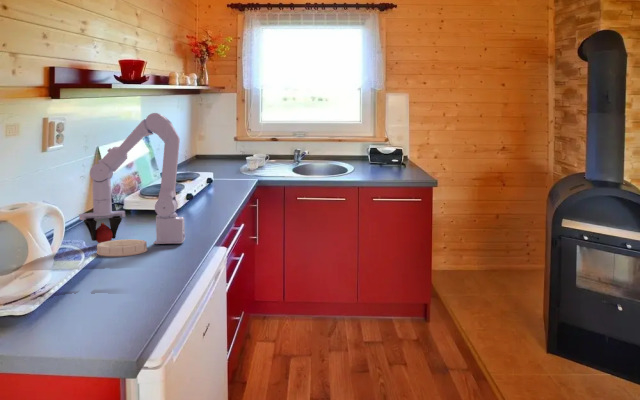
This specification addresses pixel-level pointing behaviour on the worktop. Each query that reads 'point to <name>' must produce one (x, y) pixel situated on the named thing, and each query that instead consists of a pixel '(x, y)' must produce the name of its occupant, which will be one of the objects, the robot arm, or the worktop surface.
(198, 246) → the worktop surface
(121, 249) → the dish
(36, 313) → the worktop surface
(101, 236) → the onion
